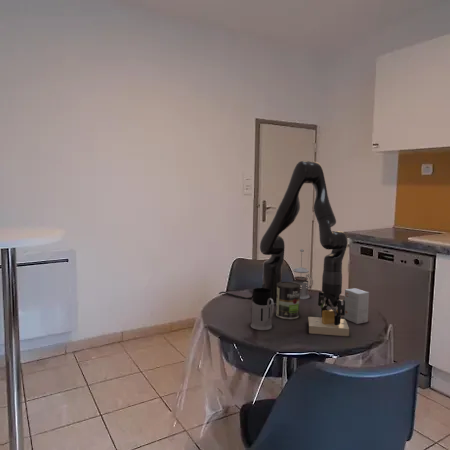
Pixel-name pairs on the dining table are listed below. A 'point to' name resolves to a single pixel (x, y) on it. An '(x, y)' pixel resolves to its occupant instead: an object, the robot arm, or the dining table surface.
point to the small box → (356, 305)
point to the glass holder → (262, 309)
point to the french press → (302, 280)
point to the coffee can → (288, 300)
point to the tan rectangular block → (328, 316)
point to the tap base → (327, 327)
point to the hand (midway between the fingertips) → (330, 321)
